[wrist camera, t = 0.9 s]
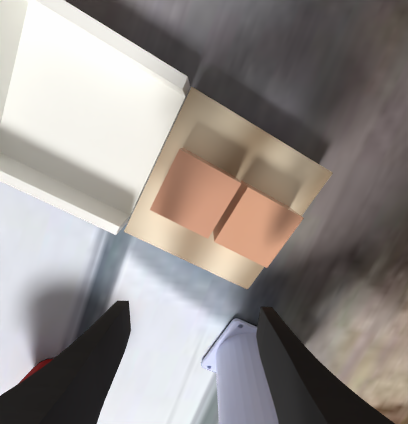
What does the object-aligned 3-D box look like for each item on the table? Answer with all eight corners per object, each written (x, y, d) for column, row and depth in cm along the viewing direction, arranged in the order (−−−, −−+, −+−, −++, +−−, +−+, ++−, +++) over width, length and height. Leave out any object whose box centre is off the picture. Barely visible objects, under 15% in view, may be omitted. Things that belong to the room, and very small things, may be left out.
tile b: (235, 177, 16) (241, 183, 14) (207, 225, 18) (207, 238, 15) (182, 147, 16) (179, 148, 13) (157, 199, 17) (149, 209, 15)
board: (316, 168, 19) (332, 172, 16) (242, 273, 22) (247, 289, 20) (193, 93, 17) (191, 86, 15) (133, 220, 20) (124, 231, 18)
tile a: (289, 207, 17) (303, 217, 15) (258, 251, 18) (266, 268, 16) (241, 180, 17) (248, 187, 14) (212, 228, 18) (214, 241, 15)
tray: (190, 87, 17) (187, 76, 14) (128, 221, 20) (115, 234, 17) (23, -15, 15) (-20, -52, 12) (-14, 153, 18) (-54, 156, 15)
